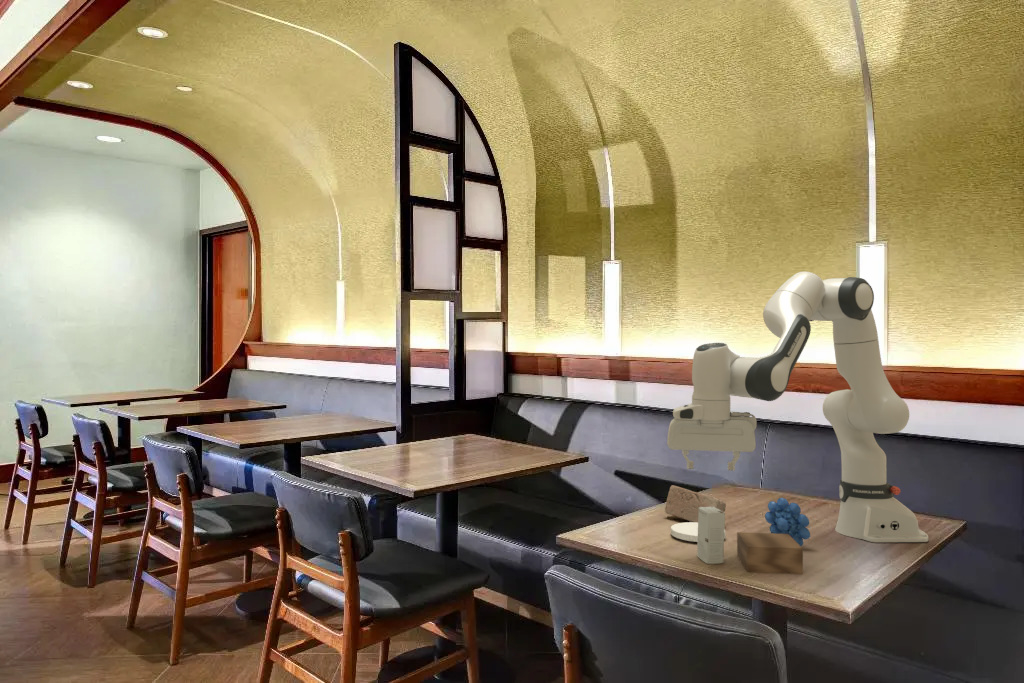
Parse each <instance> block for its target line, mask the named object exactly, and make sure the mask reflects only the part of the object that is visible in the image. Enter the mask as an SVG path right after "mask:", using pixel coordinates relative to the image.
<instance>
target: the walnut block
mask: <svg viewBox="0 0 1024 683" xmlns="http://www.w3.org/2000/svg"><path fill="white" fill-rule="evenodd" d="M736 539H737V540H736V545H737V546H736V551H737V552H736V556H737V558H738V560H739V561H740V563H741V564H742V565H743V567H744V569H745V570H746V572H747V573H764V574H765V573H767V574H769V573H770V574H771V573H772V574H791V575H793V574H794V575H796V574H797V575H798V574H799V575H803V572H804V570H803V566H804V559H803V557H804V556H803V555H804V552H803V551H804V549H803V547H802V546H800V545H799V544H798V543H797V542H796V541H795V540H794V539H793V538H792V537H791V536H790V535H789V534H775V533H771V532H766V533H765V532H737V533H736Z"/></svg>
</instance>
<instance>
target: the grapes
mask: <svg viewBox="0 0 1024 683" xmlns="http://www.w3.org/2000/svg"><path fill="white" fill-rule="evenodd" d="M767 508H768V511H766V513H764V518H765V521H766V522H767V523H768V524H770V526H769V533H775V534H789V535H790V536H791V537H792V538H793V539H794V540H795V541H796V542H797V543H798V544H799V545H800V546H801V547H802V546H803V545H804V540H806V541H807V540H809V539H810V538H811V532H810V530H809V529H808V528H807V527H808V526H809V525H810V519H809V518H808V516H807V515H805V514H804V513H801V512H802V509H801V507H800V505H799V504H798V503H795V502H790V503H789V501H788V500H787V499H786V498H785V497H779V498H778V499H777V501H776V502H775V501H773V500H771V501H769V502H768V503H767Z"/></svg>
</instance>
